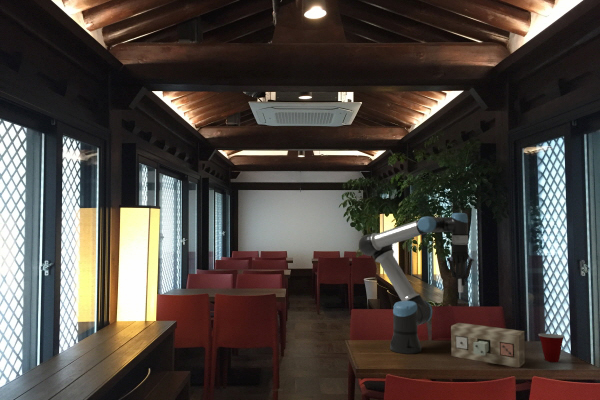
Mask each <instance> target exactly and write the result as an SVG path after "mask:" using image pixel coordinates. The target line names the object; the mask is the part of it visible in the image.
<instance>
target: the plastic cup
mask: <svg viewBox="0 0 600 400" xmlns="http://www.w3.org/2000/svg"><path fill="white" fill-rule="evenodd" d="M537 335H538V337H539V339H540V343H541V349H542V353H543V357H544V360H545V361H546V362H548V363H559V362H560V358H561V353H562V348H563V346H562V345H563V341H564V338H565V335H562V334H556V333H538V334H537Z"/></svg>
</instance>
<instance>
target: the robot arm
mask: <svg viewBox="0 0 600 400" xmlns="http://www.w3.org/2000/svg"><path fill="white" fill-rule="evenodd" d="M430 233H451V243H452V245H451V248H452V250H451V252H452V253H451V256H449V257H446V260H447V262H448V264H449V270H450V271H451V276H452V278H455V279H456V281H455V283H456V284H455V285H456V286H457V289H458V293H464V286H466V279H468V278H470V273H471V270H472V264H473V263H474V261H475V259H474V258H472V257H470V255H469V245H468V243H469V219H468V214H467V213H465V212H453V213H451V216H449V217H448V216H447V217H446V216H445V217H444V216H440V217H439V216H429V215H427V216H422V217H421V218H419V219H417V220H415V221H412V222H409V223H405V224H402V225H399V226H397V227H393V228H390V229H388V230H385V231H382V232H378V233H377V232H372V233H370V234H366V235H362V236H361V238H360V239H359V242H358V249H359V250H360V252H361V253H362V254H363V255H364V256H367V257H370V256H371V257H372V258H373V260H374V261H375V263H379V264H380V266H381V268H382V269H383V271H384V273H385V275H386V277H387V279H388V280H389V282H390V283H391V286H392V287H393V288H394V290H395V292H396V293H397V295H398V297H399V299H400V301H397V302H395V303H394V305H393V309H392V313H393V315H392V316H393V317H392V320H393V323H392V325H393V334H392V337H391V340H390V343H389V349H390V351H392V352H394V353H399V354H409V355H410V354H419V353H420V352H421V351H422V345H421V341H420V338H419V337H418V336H419V335H418V326H420V325H425V324H426V323H428V322H429V321H430V320H431V319H432V317H433V311H434V310H433V308H432V305H431V304H430V302H428V301H427V300H424V299H423V297H422V296H421V294H419V293H417V292H416V291H415V289H414V288H413V285H412V284H411V282H410V281H409V279H408V277H407V276H406V274H405V273H404V271H403V269H402V267H401V266H400V265H399V263H398V261H397V260H396V258H395V256H394V254H395V251H394V249H393V245H394V244H397V243H400V242H404V241H406V240H410V239H413V238H416V237H419V236H422V235H425V234H430ZM453 261H454V262H453ZM466 262H467V266H466ZM454 263H455V264H454ZM454 265H455V266H454Z"/></svg>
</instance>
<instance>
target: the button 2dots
mask: <svg viewBox="0 0 600 400" xmlns="http://www.w3.org/2000/svg"><path fill="white" fill-rule="evenodd" d="M473 347H474V354H478V355H484V356H485V355H486V352H488V351H489V342H488V341H481V340H480V341H478V342H473Z"/></svg>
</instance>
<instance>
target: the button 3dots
mask: <svg viewBox="0 0 600 400" xmlns="http://www.w3.org/2000/svg"><path fill="white" fill-rule="evenodd" d="M513 354H514V344H511V343H501V355H507V356H513Z"/></svg>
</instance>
